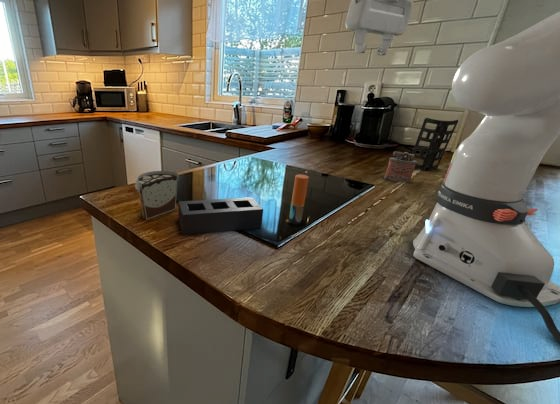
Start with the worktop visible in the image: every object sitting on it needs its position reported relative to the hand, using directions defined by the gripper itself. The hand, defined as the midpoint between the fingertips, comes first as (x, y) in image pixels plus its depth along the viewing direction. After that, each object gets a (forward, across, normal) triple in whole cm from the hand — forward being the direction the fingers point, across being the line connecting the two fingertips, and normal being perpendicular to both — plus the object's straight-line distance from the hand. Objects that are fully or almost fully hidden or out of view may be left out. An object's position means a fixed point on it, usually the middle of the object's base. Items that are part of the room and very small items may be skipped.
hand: (370, 54), depth 72 cm
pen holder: (+39, -39, +6) cm, 56 cm away
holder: (+39, +62, +3) cm, 73 cm away
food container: (+39, -50, +20) cm, 66 cm away
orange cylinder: (+39, -22, -3) cm, 45 cm away
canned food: (+39, +48, -14) cm, 64 cm away
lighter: (+39, +36, +1) cm, 53 cm away
